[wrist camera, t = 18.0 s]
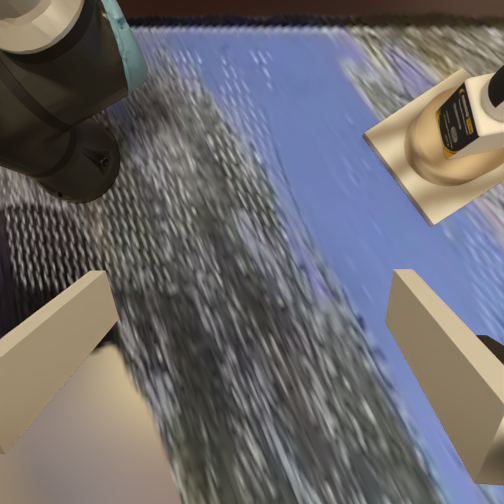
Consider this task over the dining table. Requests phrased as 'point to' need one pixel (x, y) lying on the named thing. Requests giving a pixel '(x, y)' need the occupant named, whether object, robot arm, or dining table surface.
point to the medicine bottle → (473, 116)
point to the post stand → (432, 156)
